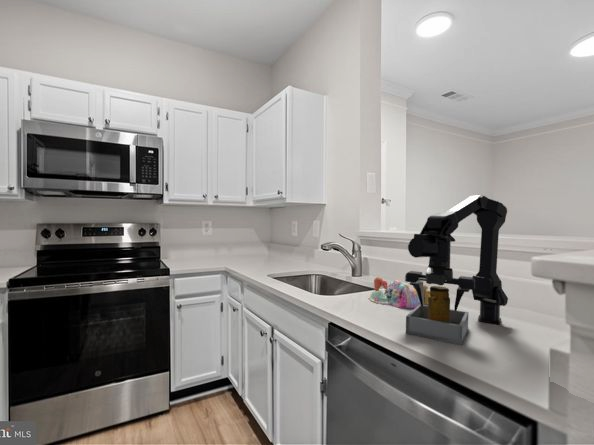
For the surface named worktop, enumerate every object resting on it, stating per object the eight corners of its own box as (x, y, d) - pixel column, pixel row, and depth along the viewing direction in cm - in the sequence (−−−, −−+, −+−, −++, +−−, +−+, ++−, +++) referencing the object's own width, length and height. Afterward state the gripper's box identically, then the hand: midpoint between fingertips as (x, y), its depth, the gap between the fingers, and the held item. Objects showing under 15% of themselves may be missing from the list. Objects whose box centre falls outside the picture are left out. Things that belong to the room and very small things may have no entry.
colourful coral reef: (422, 296, 139) (422, 276, 139) (441, 311, 116) (441, 286, 116) (365, 294, 142) (366, 273, 142) (373, 308, 118) (373, 283, 118)
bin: (418, 319, 105) (419, 304, 105) (468, 328, 97) (468, 312, 96) (405, 333, 91) (406, 316, 91) (461, 345, 83) (462, 326, 83)
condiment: (431, 321, 99) (432, 284, 99) (460, 328, 93) (461, 288, 93) (422, 327, 93) (423, 287, 93) (452, 334, 88) (453, 292, 88)
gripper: (400, 256, 92) (399, 308, 92) (472, 261, 82) (471, 321, 82) (410, 253, 101) (409, 301, 101) (476, 258, 91) (474, 311, 91)
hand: (438, 308), depth 94 cm, fingers open, 9 cm apart
